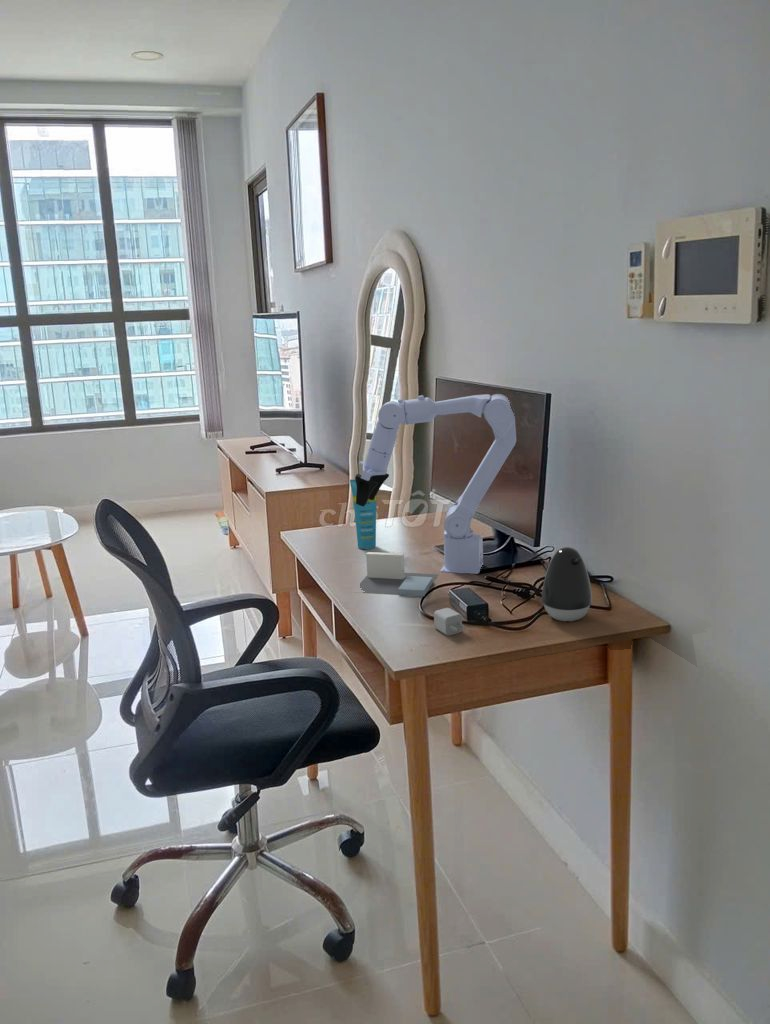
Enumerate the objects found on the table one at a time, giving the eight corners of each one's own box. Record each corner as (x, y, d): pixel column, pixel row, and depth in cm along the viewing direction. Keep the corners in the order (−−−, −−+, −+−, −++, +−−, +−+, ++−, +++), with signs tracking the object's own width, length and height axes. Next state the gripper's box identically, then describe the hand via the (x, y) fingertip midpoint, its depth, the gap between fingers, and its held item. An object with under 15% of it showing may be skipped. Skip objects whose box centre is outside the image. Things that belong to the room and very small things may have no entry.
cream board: (404, 577, 204) (403, 553, 203) (403, 579, 203) (402, 555, 201) (368, 575, 207) (367, 551, 205) (367, 577, 205) (366, 553, 204)
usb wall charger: (450, 625, 176) (450, 606, 175) (469, 636, 170) (469, 617, 169) (434, 629, 174) (433, 611, 173) (452, 640, 168) (452, 621, 167)
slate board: (407, 581, 201) (407, 575, 201) (432, 582, 200) (432, 577, 199) (398, 594, 193) (398, 588, 192) (423, 596, 191) (423, 590, 191)
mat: (438, 575, 205) (438, 574, 205) (424, 597, 191) (423, 596, 191) (370, 572, 210) (370, 570, 210) (352, 593, 196) (352, 592, 196)
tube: (355, 551, 227) (351, 481, 222) (352, 546, 232) (348, 477, 227) (382, 548, 229) (379, 478, 224) (378, 543, 233) (375, 474, 228)
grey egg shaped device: (556, 629, 171) (557, 558, 167) (533, 612, 181) (533, 543, 177) (601, 622, 174) (603, 551, 170) (576, 605, 183) (577, 537, 179)
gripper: (373, 440, 212) (358, 490, 216) (356, 448, 198) (340, 502, 202) (399, 450, 211) (384, 500, 214) (384, 459, 197) (367, 512, 201)
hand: (364, 501), depth 208 cm, fingers open, 7 cm apart
